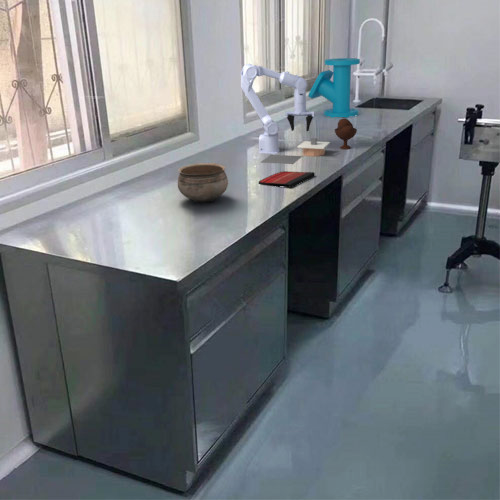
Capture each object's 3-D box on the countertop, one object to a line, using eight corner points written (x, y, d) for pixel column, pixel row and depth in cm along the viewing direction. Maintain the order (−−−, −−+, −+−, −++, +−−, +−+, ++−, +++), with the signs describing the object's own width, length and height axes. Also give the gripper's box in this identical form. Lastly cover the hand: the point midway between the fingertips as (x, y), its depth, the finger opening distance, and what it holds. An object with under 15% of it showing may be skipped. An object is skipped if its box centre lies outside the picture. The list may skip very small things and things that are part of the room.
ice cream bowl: (356, 150, 288) (357, 119, 283) (333, 150, 291) (333, 120, 285) (356, 145, 298) (357, 116, 292) (334, 145, 300) (335, 116, 295)
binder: (314, 171, 246) (290, 184, 230) (314, 177, 247) (290, 189, 231) (282, 169, 255) (256, 181, 239) (282, 174, 256) (256, 186, 240)
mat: (260, 163, 271) (260, 162, 271) (270, 155, 285) (270, 154, 285) (293, 165, 266) (293, 164, 266) (302, 157, 280) (302, 156, 280)
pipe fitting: (350, 118, 374) (352, 61, 360) (305, 115, 389) (305, 60, 376) (363, 112, 391) (364, 58, 378) (319, 110, 407) (320, 58, 393)
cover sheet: (297, 147, 278) (297, 140, 277) (304, 142, 290) (304, 135, 288) (323, 148, 274) (323, 141, 273) (330, 143, 285) (330, 135, 284)
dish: (300, 156, 281) (300, 147, 279) (306, 151, 290) (306, 142, 288) (321, 157, 277) (321, 148, 276) (326, 152, 286) (326, 143, 285)
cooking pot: (215, 212, 207) (213, 178, 203) (167, 208, 213) (164, 176, 208) (238, 192, 229) (236, 161, 224) (194, 189, 235) (191, 159, 230)
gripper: (283, 103, 284) (283, 131, 289) (312, 104, 279) (312, 132, 284) (287, 101, 290) (288, 129, 295) (316, 102, 285) (315, 129, 290)
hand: (300, 130), depth 290 cm, fingers open, 7 cm apart
